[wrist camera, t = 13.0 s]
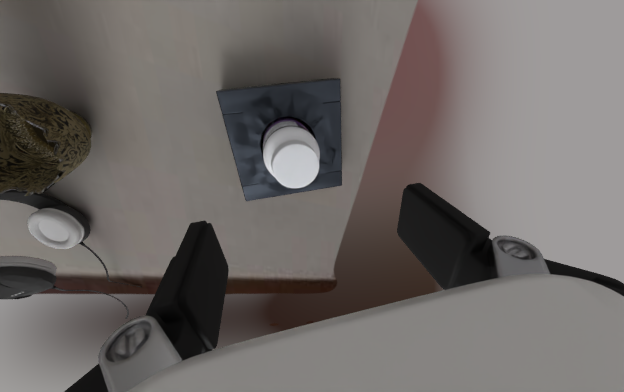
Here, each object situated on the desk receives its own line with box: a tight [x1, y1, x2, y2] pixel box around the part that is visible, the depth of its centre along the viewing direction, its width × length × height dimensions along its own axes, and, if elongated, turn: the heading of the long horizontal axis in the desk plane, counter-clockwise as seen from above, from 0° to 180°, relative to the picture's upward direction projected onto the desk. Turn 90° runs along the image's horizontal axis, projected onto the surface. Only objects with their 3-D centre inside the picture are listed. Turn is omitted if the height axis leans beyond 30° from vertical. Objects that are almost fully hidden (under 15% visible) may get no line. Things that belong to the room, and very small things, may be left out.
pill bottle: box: [263, 117, 320, 188], centre depth 22 cm, size 5×5×10 cm
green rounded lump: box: [0, 93, 92, 196], centre depth 19 cm, size 7×7×8 cm
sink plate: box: [216, 78, 342, 201], centre depth 25 cm, size 12×12×3 cm
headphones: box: [0, 189, 140, 319], centre depth 25 cm, size 10×4×20 cm
